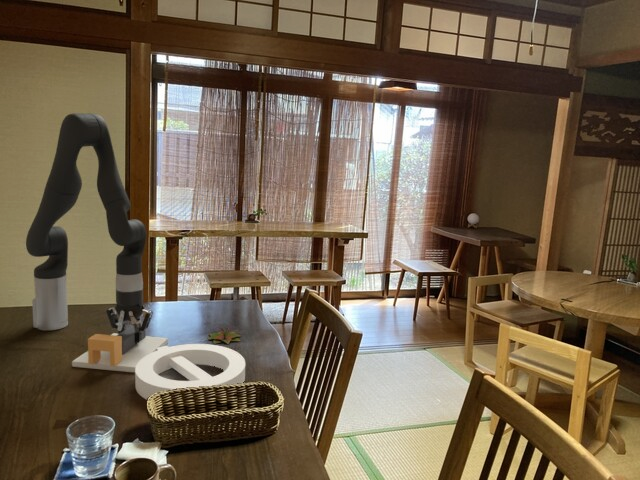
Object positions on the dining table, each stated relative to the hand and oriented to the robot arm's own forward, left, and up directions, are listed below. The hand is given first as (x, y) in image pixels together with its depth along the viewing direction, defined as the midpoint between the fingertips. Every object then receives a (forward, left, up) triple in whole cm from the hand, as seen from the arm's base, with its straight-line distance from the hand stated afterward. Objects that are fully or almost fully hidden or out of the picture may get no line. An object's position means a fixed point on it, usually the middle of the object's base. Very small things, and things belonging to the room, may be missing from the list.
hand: (130, 342), depth 148 cm
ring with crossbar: (+25, -16, -3) cm, 30 cm away
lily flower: (+25, +15, -3) cm, 29 cm away
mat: (0, -4, -2) cm, 4 cm away
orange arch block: (0, -14, 0) cm, 14 cm away
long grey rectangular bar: (0, -1, -1) cm, 1 cm away
